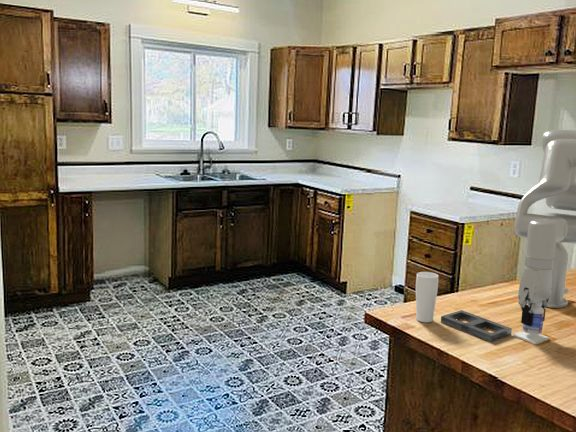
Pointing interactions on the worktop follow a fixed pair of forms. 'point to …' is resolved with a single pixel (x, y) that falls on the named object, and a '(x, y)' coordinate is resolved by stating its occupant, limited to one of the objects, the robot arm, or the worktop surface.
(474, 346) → the worktop surface
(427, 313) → the drinking glass
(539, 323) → the pill bottle
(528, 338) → the tile
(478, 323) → the grey double square frame
